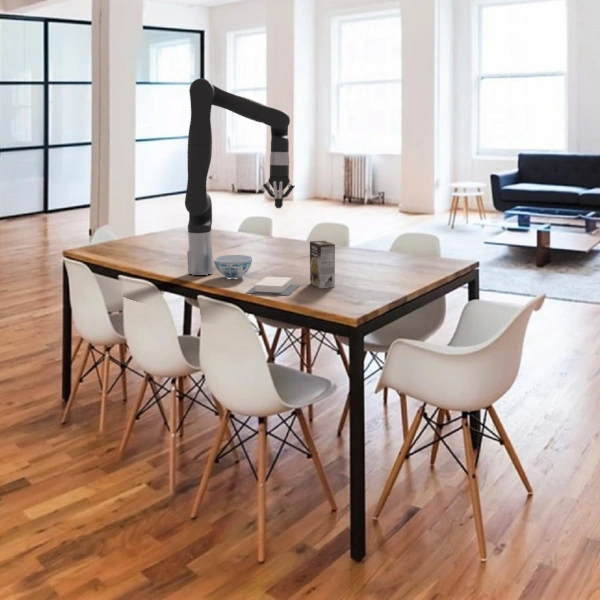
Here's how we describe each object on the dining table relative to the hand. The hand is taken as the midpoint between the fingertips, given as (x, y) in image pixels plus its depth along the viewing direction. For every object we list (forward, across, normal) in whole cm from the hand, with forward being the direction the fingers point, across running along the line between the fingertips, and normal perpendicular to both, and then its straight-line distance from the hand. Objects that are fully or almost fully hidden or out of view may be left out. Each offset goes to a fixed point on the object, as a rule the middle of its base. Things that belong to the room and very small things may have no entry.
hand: (278, 208), depth 287 cm
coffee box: (+26, +23, -20) cm, 40 cm away
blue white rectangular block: (+24, +7, -22) cm, 34 cm away
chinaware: (+27, -14, -14) cm, 33 cm away
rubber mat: (+26, +6, -30) cm, 40 cm away
